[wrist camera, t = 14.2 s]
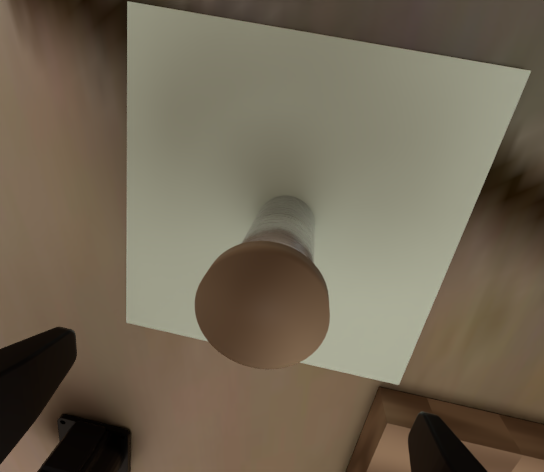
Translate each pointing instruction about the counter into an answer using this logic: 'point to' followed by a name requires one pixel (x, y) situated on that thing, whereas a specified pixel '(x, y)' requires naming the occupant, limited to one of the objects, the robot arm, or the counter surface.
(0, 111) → the counter surface
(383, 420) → the walnut block
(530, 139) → the counter surface
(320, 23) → the counter surface
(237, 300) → the metal peg
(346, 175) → the sage mat
